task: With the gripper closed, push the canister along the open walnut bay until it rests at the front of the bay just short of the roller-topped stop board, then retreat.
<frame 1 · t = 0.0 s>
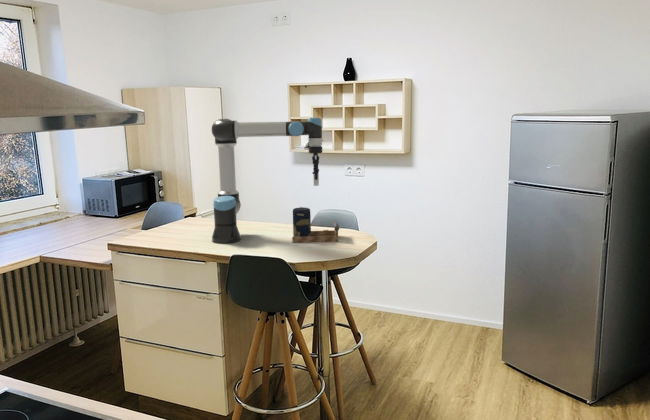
hand: (316, 184, 293), 28 cm above the kitchen island, fingers open, 13 cm apart
canister: (302, 239, 282), on the kitchen island
bay: (315, 239, 282), on the kitchen island
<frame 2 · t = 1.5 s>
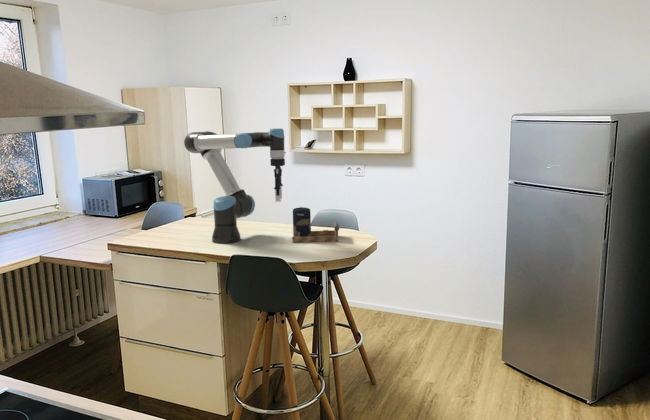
hand: (278, 199, 278), 22 cm above the kitchen island, fingers open, 10 cm apart
nothing on the kitchen island moved.
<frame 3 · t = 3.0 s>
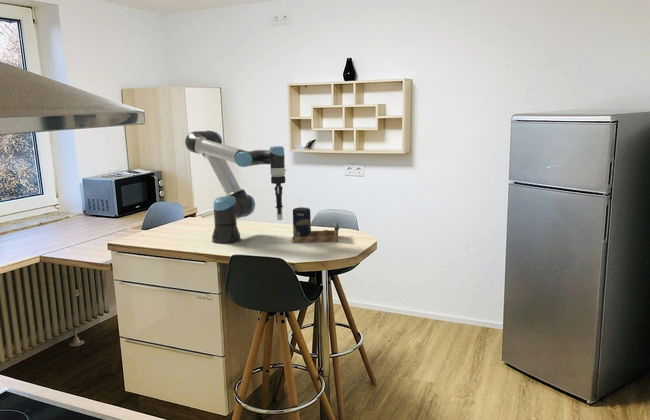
hand: (279, 219, 280), 11 cm above the kitchen island, fingers closed
nothing on the kitchen island moved.
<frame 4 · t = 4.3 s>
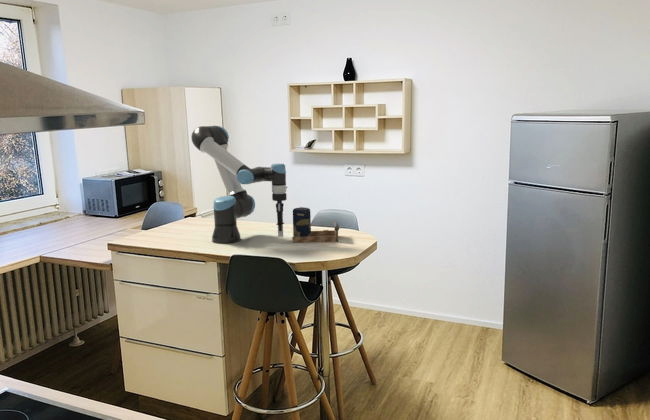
hand: (280, 236, 282), 2 cm above the kitchen island, fingers closed
nothing on the kitchen island moved.
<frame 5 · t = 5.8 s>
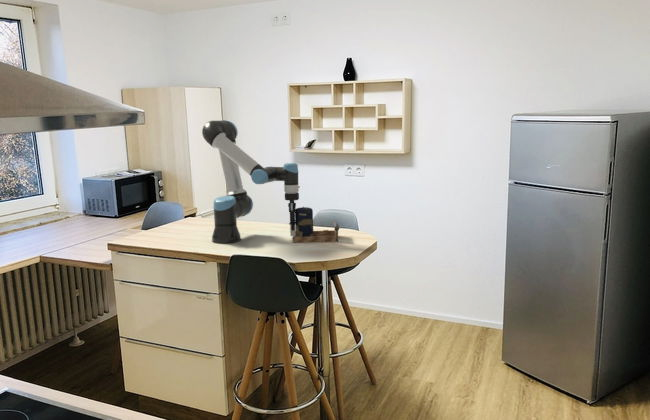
hand: (293, 235, 282), 2 cm above the kitchen island, fingers closed
canister: (304, 239, 282), on the kitchen island, touching gripper
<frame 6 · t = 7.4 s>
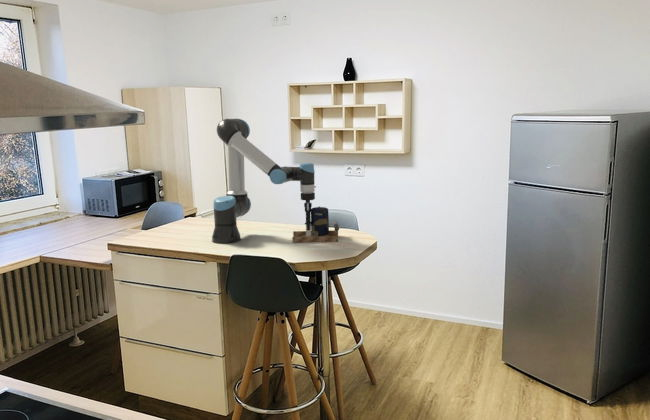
hand: (308, 235, 282), 2 cm above the kitchen island, fingers closed
canister: (320, 239, 282), on the kitchen island, touching gripper
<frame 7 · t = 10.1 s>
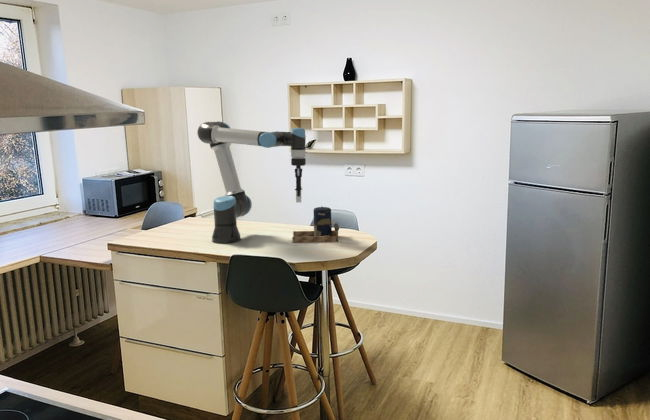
hand: (298, 202, 279), 20 cm above the kitchen island, fingers closed
canister: (322, 239, 283), on the kitchen island
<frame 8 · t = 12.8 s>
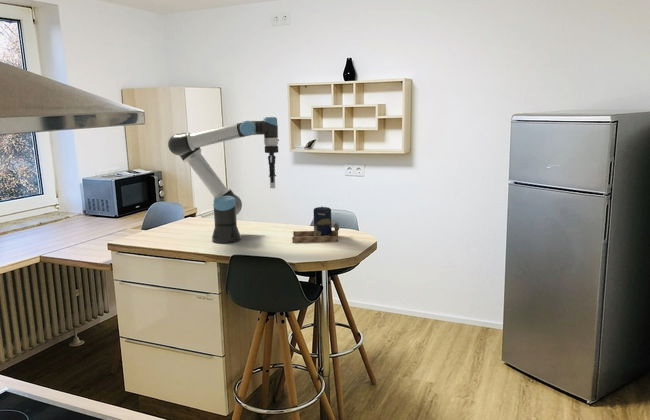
hand: (272, 188, 291), 26 cm above the kitchen island, fingers closed
nothing on the kitchen island moved.
at the end: canister inside the target area (0.9 cm from its centre), on the kitchen island; canister tilted 0°; canister moved 11.1 cm from its start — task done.
